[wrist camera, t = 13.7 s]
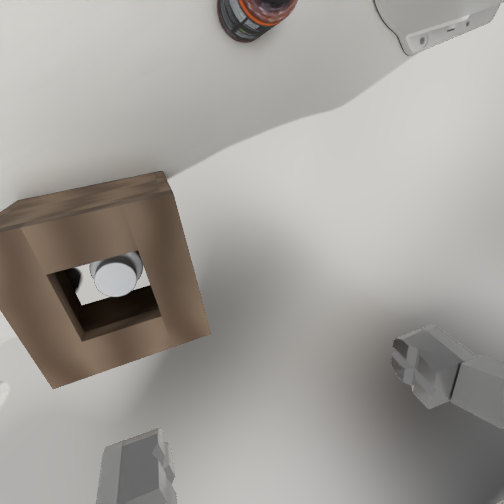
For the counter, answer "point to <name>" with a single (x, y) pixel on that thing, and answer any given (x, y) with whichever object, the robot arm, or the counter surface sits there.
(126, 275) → the supplement bottle
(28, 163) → the counter surface
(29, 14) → the counter surface
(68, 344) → the box
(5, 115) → the counter surface
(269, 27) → the supplement bottle
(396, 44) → the counter surface
